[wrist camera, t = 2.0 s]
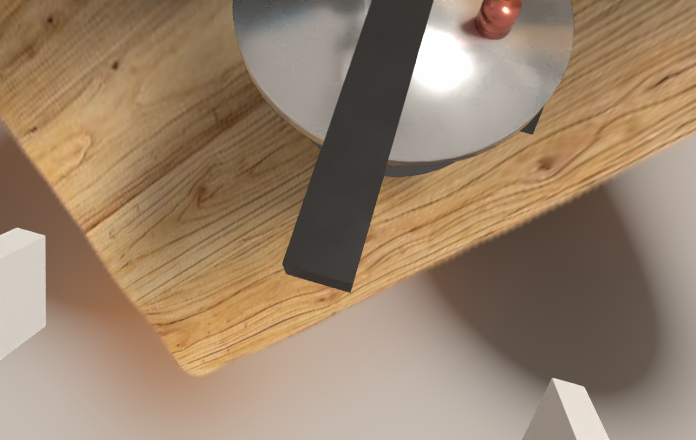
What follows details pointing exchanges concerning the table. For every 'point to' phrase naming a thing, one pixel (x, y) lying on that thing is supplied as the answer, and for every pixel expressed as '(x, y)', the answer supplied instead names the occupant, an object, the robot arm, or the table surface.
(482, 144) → the lid
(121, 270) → the table surface
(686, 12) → the table surface
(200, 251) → the table surface
